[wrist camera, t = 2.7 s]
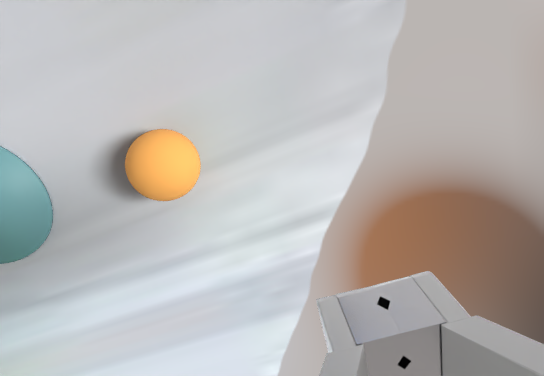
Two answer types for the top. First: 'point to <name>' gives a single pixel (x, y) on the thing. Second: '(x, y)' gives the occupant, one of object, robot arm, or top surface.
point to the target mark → (21, 209)
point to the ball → (162, 165)
